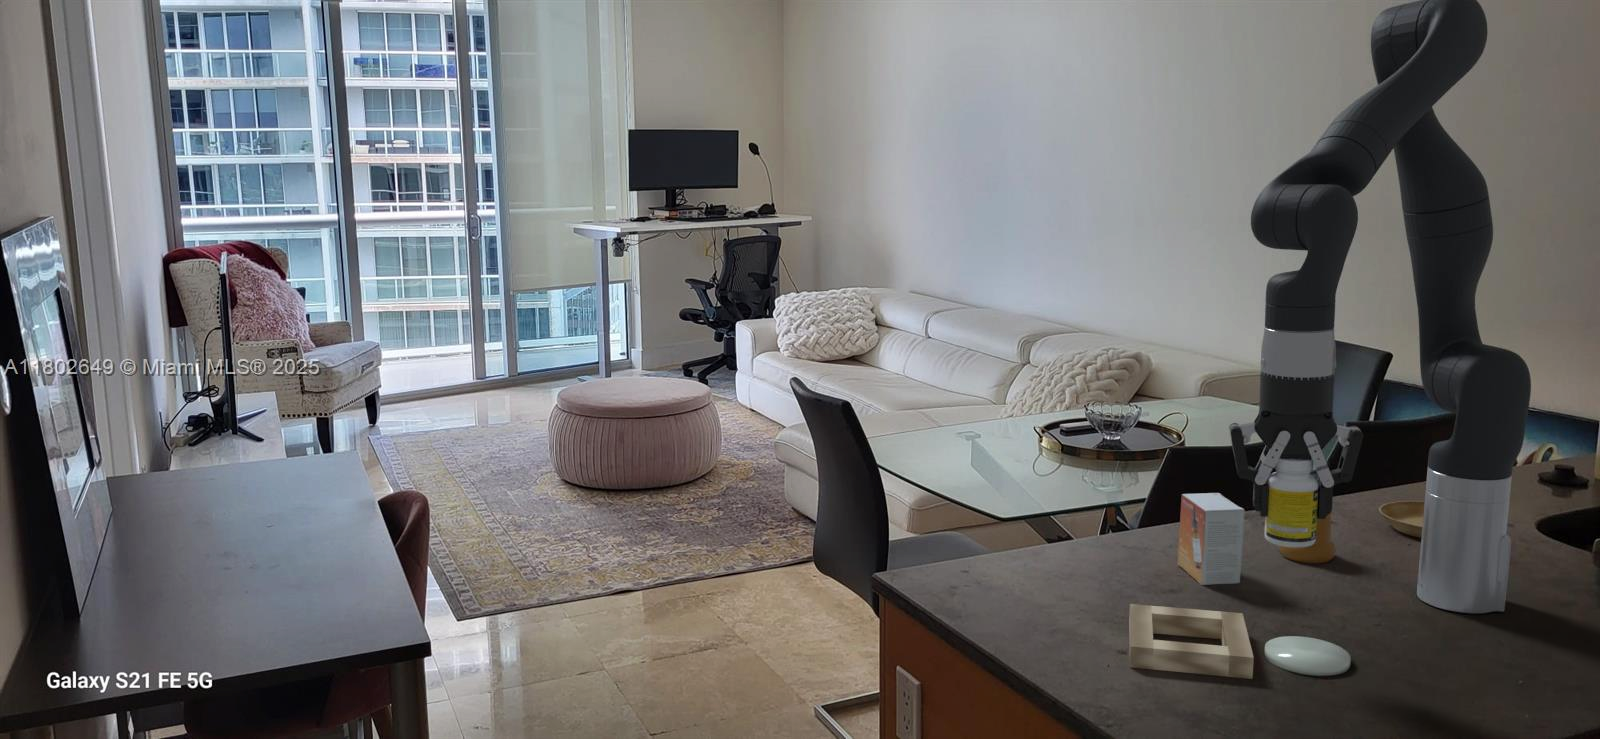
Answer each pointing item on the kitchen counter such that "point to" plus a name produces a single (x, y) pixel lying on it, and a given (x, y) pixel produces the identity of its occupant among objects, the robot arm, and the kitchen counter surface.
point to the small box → (1211, 538)
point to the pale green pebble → (1307, 656)
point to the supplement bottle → (1292, 504)
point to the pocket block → (1190, 656)
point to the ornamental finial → (1314, 546)
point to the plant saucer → (1405, 516)
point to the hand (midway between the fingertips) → (1291, 515)
